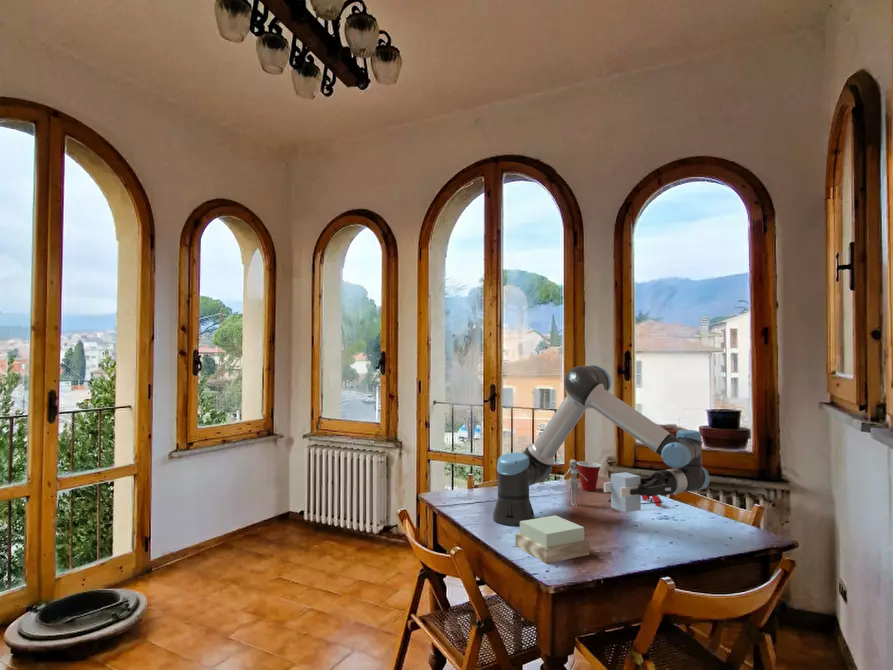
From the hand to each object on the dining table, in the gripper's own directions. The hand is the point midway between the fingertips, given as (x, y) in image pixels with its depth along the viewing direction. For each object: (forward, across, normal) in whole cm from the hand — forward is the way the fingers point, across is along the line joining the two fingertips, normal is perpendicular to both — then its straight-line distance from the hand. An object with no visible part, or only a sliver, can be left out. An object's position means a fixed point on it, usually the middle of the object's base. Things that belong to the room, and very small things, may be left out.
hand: (612, 490), depth 161 cm
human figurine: (-28, +52, -21) cm, 63 cm away
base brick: (+12, +14, -20) cm, 27 cm away
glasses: (-50, +41, -21) cm, 68 cm away
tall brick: (-5, 0, -6) cm, 8 cm away
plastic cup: (-50, +68, -21) cm, 87 cm away
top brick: (+12, +14, -16) cm, 25 cm away
